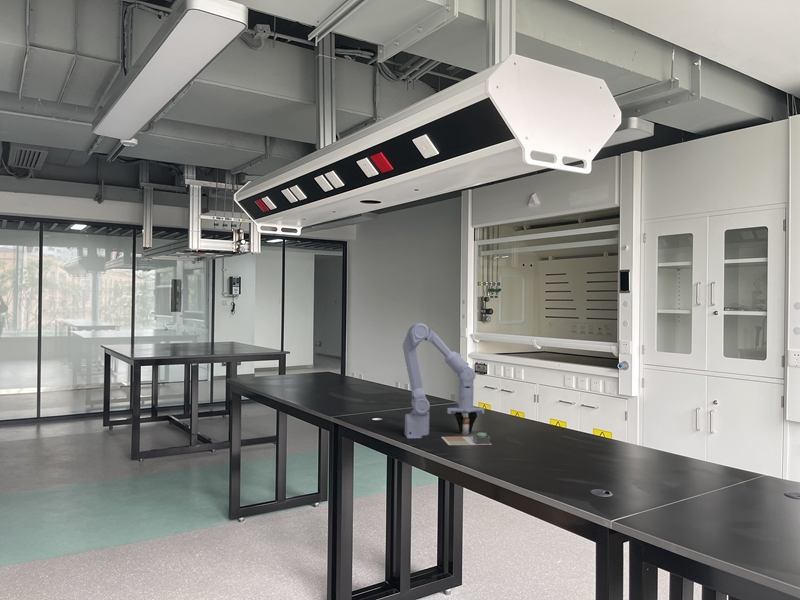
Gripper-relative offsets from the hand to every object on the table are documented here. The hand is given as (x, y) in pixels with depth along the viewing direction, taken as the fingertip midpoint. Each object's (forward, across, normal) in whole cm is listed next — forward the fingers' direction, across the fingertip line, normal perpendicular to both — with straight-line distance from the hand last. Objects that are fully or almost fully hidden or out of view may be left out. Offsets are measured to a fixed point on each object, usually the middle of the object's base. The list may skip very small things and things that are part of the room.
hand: (465, 431), depth 225 cm
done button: (-1, +2, -16) cm, 16 cm away
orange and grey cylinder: (+2, 0, 0) cm, 2 cm away
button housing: (+1, +2, -16) cm, 16 cm away
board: (+2, -3, -12) cm, 12 cm away
